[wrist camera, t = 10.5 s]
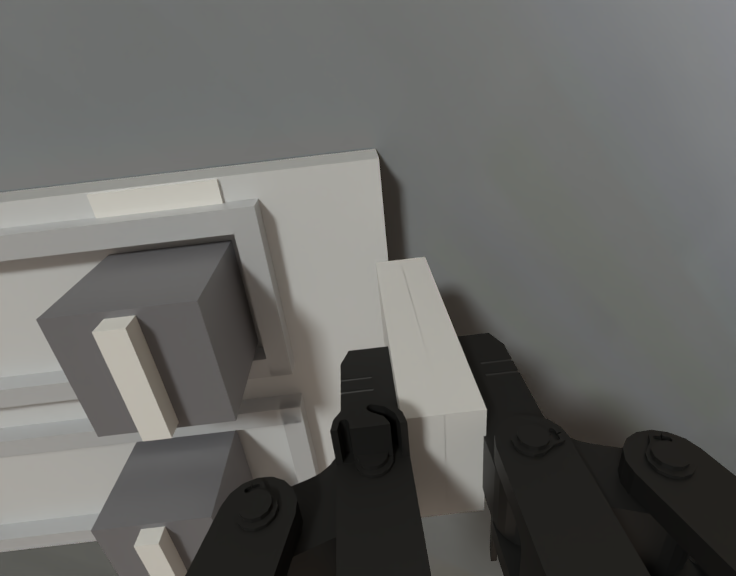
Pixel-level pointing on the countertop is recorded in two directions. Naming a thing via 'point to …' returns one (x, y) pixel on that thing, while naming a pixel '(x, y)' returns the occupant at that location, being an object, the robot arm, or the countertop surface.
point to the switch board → (265, 298)
